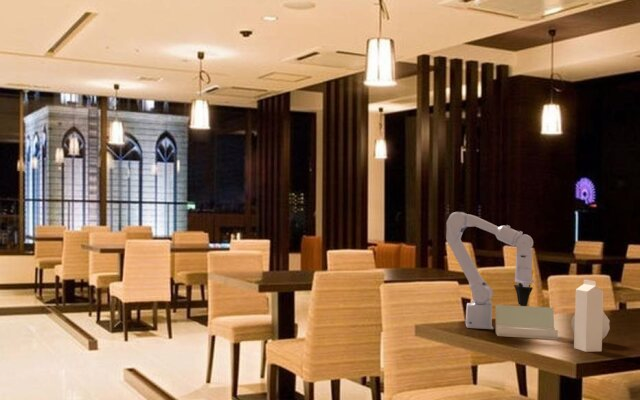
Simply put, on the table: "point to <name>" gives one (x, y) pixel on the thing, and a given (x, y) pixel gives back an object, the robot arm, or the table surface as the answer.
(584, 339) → the milk
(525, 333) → the cable duct
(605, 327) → the decorative ball
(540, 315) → the duct lid
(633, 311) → the table surface
